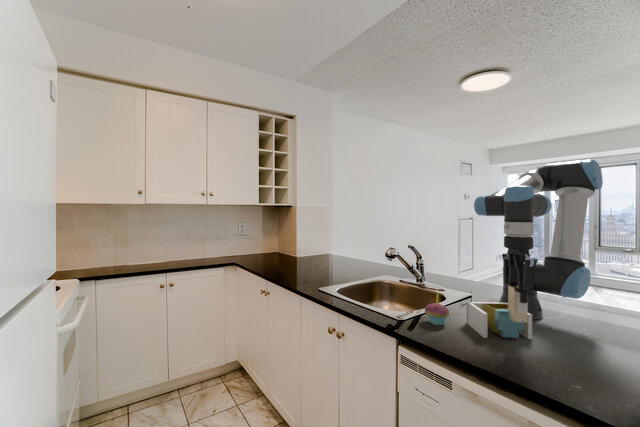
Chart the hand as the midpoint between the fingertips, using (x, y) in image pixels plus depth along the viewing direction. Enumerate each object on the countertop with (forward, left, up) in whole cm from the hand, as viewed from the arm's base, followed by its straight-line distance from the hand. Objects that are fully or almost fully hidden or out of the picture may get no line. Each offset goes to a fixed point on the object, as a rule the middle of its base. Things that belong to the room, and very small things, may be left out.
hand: (517, 310), depth 89 cm
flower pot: (0, -9, -11) cm, 14 cm away
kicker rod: (0, -2, -10) cm, 10 cm away
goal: (0, -11, -11) cm, 16 cm away
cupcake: (+19, -17, -11) cm, 28 cm away
